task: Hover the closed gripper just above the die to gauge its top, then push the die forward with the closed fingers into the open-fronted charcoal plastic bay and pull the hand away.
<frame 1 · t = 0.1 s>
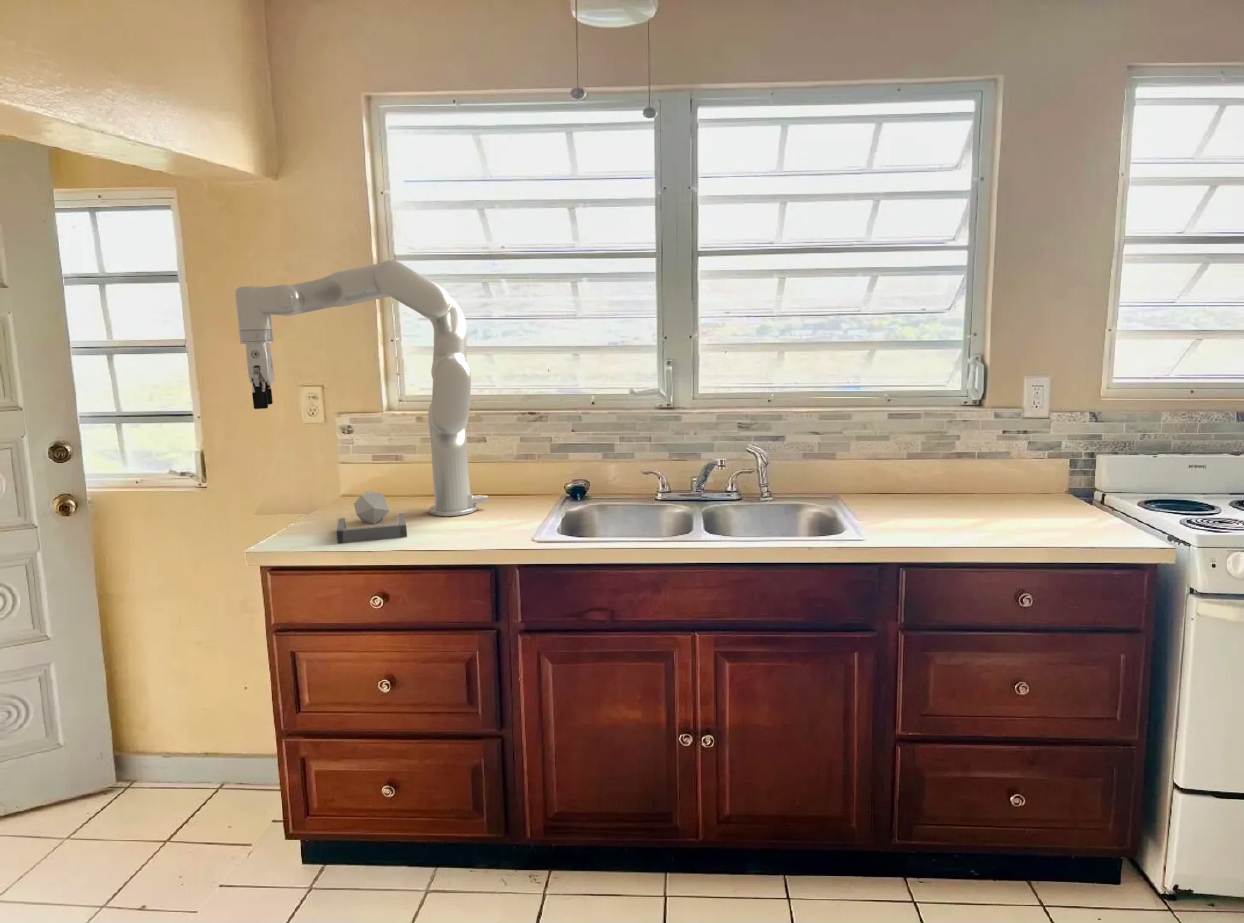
hand: (263, 406, 209), 31 cm above the table, tool pointing down, fingers open, 9 cm apart
die: (372, 522, 218), on the table
bay: (372, 533, 206), on the table
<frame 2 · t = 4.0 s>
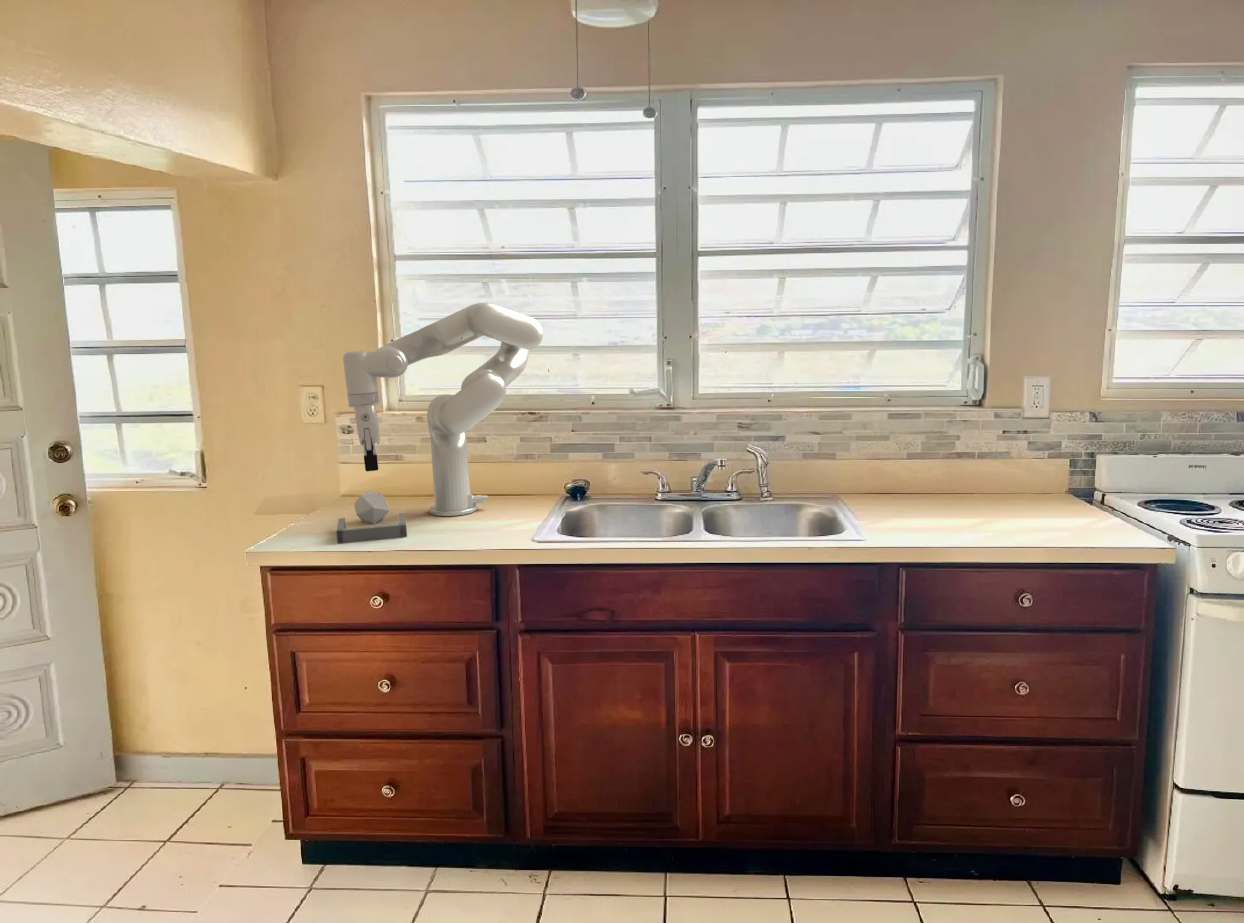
hand: (372, 470, 216), 14 cm above the table, tool pointing down, fingers closed
nothing on the table moved.
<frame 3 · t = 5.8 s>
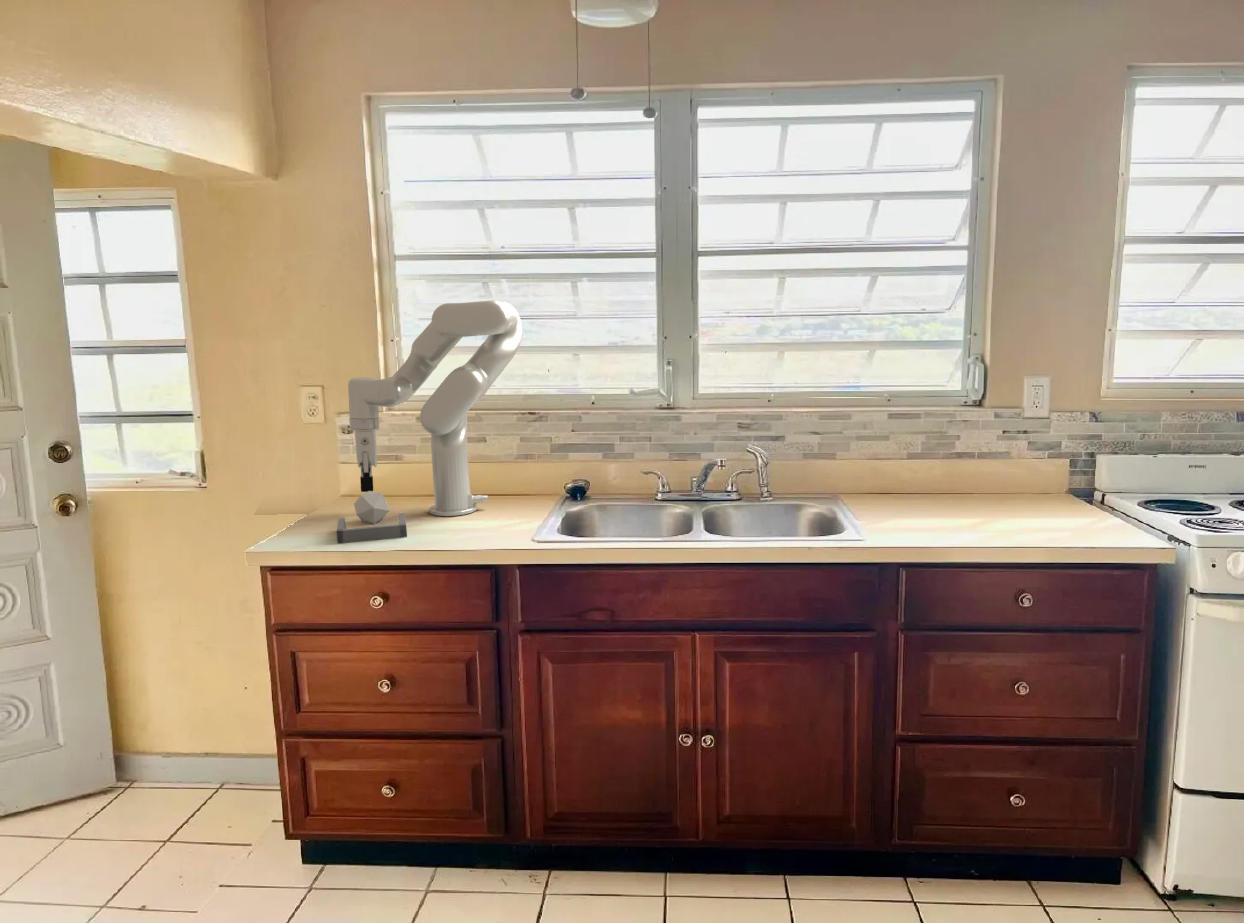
hand: (367, 490, 227), 6 cm above the table, tool pointing down, fingers closed
nothing on the table moved.
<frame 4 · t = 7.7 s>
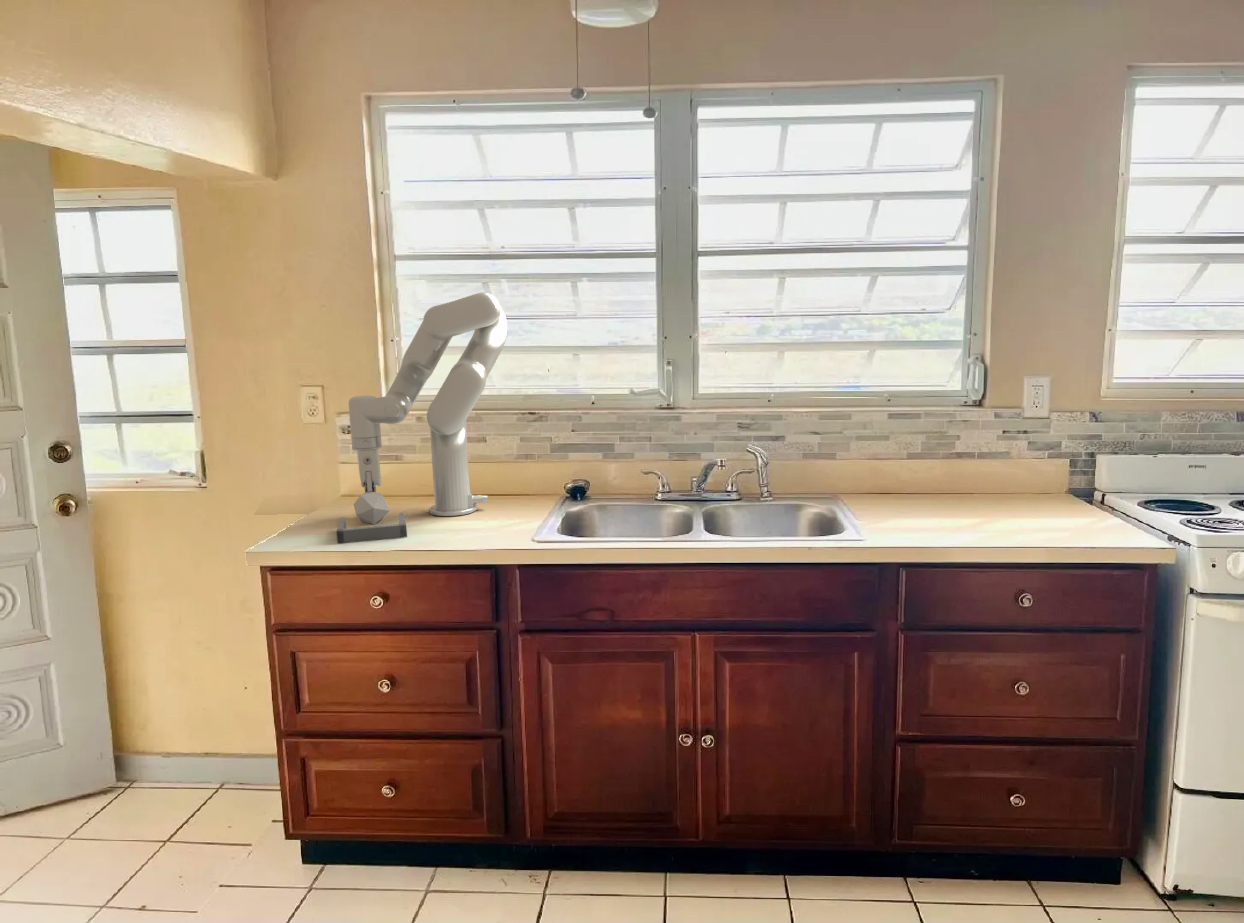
hand: (372, 510, 224), 2 cm above the table, tool pointing down, fingers closed
die: (372, 522, 218), on the table, touching gripper
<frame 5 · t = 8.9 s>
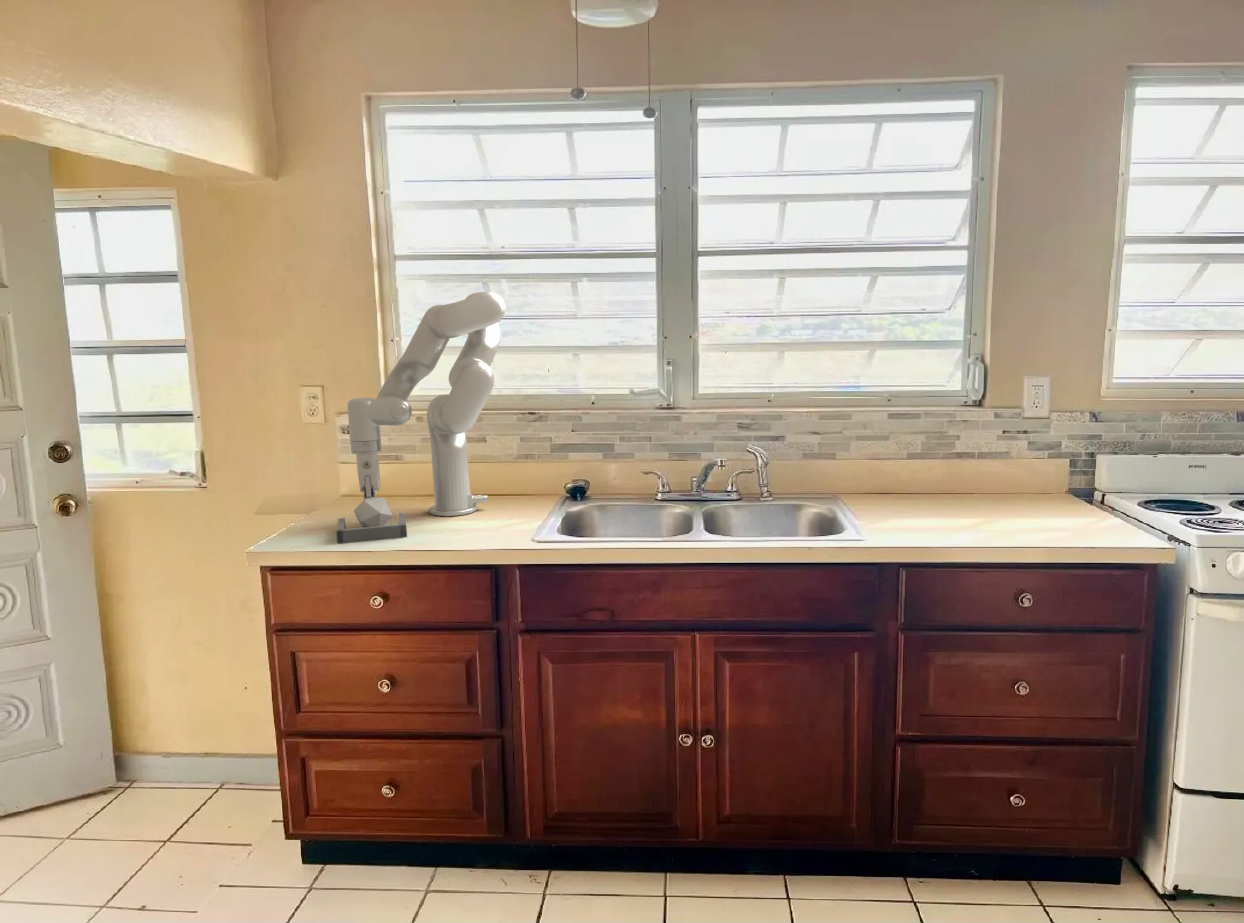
hand: (371, 516, 217), 2 cm above the table, tool pointing down, fingers closed
die: (374, 528, 212), on the table, touching gripper
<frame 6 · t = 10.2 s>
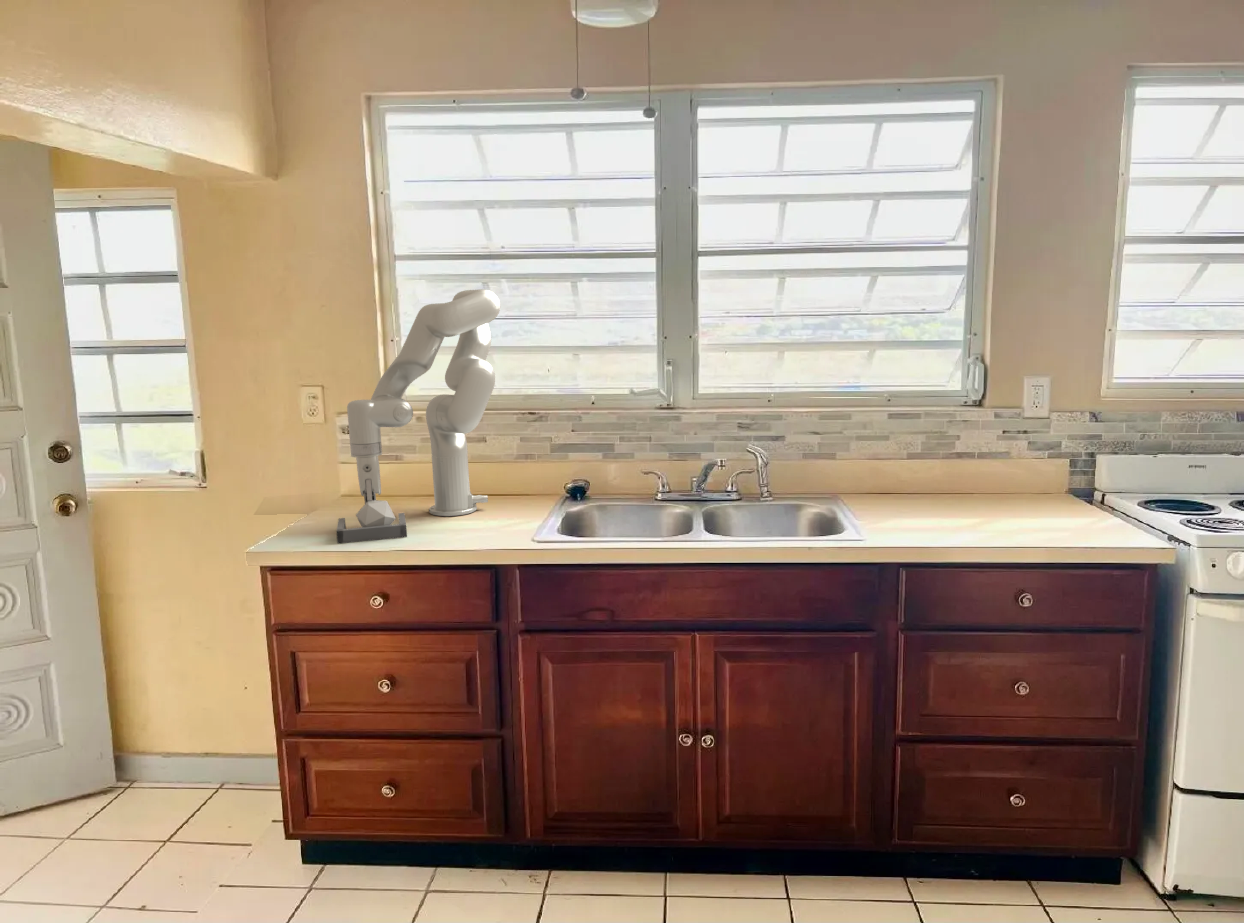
hand: (371, 520, 213), 2 cm above the table, tool pointing down, fingers closed
die: (377, 532, 208), on the table, touching gripper
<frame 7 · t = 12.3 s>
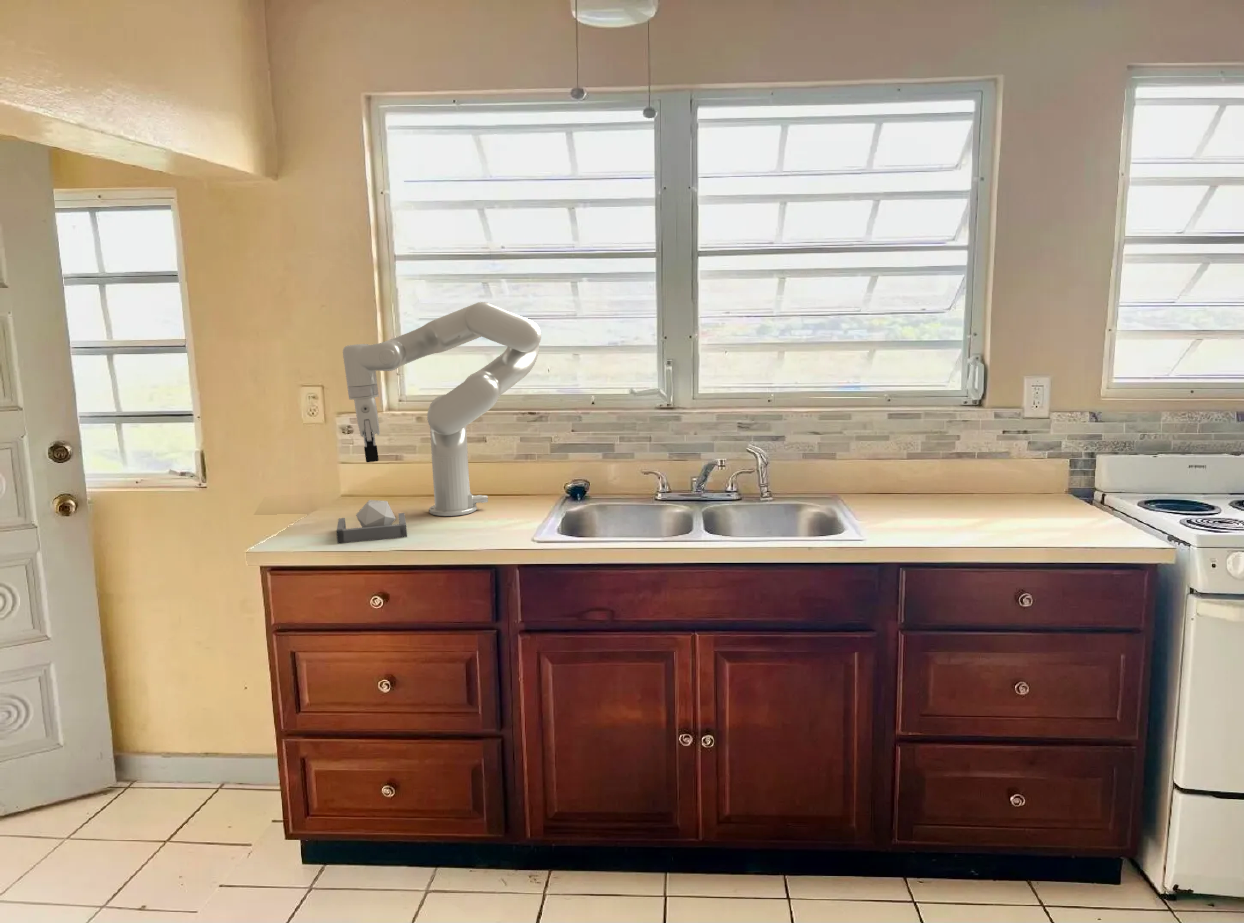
hand: (372, 461, 221), 15 cm above the table, tool pointing down, fingers closed
die: (377, 532, 208), on the table
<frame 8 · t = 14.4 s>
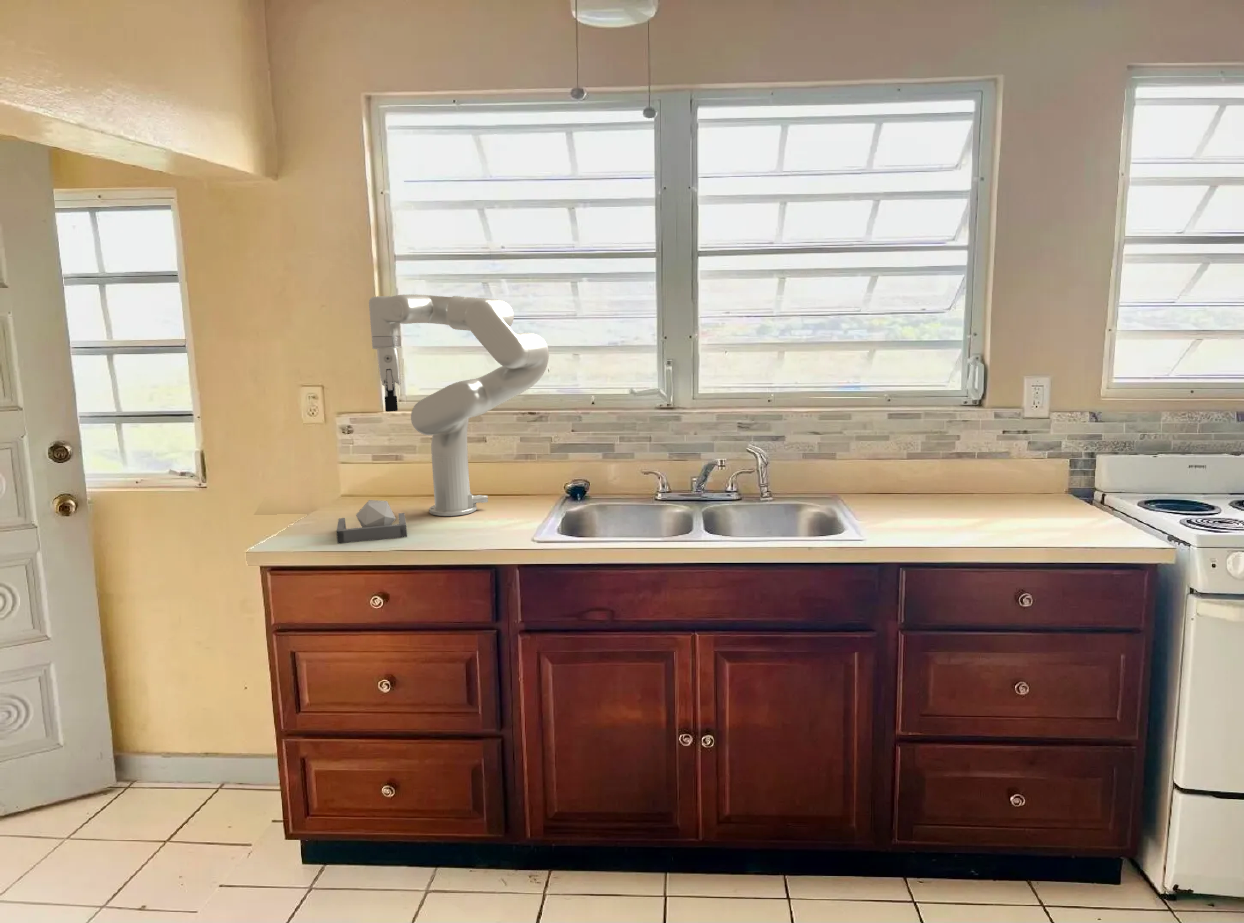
hand: (391, 410, 228), 27 cm above the table, tool pointing down, fingers closed
nothing on the table moved.
at the end: die 1.2 cm off-centre on the bay, point 0.0 cm above the bay's base; die tilted 0°; die moved 11.2 cm from its start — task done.
